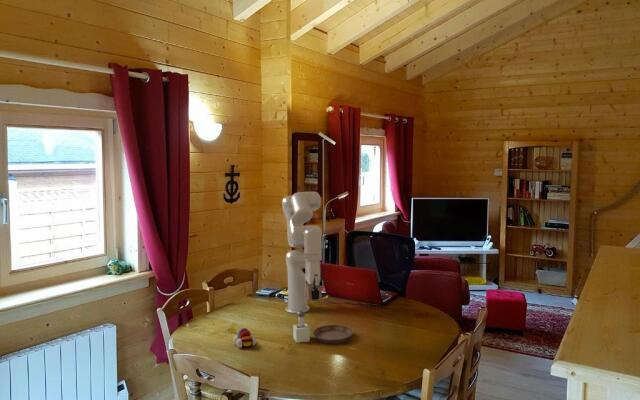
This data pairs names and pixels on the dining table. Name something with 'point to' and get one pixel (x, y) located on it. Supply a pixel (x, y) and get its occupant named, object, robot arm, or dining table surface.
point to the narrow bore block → (309, 292)
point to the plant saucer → (333, 334)
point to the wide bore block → (301, 333)
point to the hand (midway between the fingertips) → (313, 296)
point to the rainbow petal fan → (244, 338)
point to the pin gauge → (301, 319)
